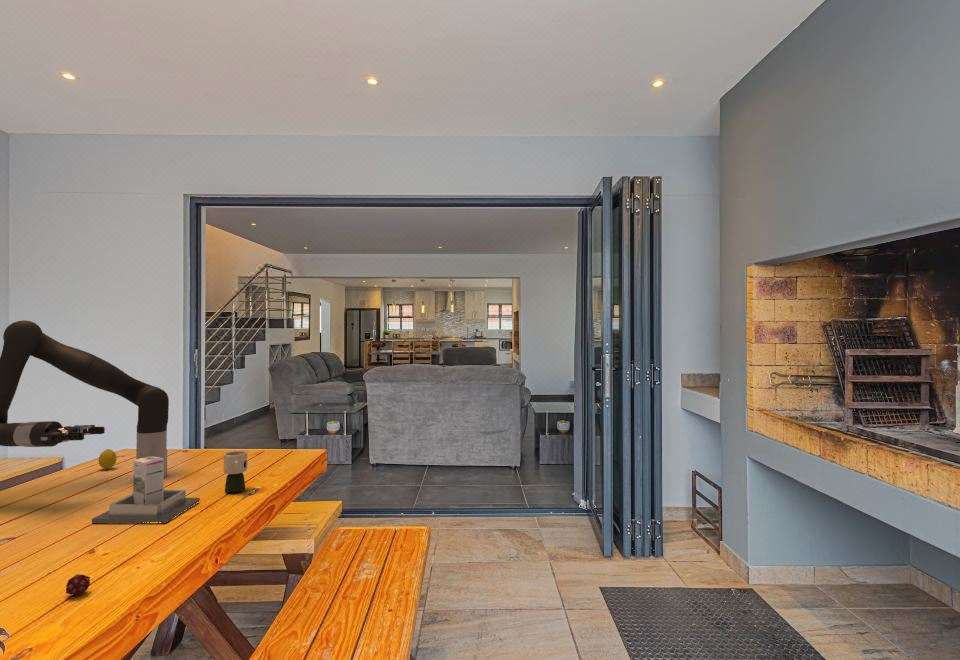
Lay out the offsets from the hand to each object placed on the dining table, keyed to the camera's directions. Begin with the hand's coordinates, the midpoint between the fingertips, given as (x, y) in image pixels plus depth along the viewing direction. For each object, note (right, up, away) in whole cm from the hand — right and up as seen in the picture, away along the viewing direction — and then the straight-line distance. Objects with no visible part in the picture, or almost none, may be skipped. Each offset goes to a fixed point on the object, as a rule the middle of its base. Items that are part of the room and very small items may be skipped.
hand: (93, 433), depth 153 cm
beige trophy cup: (+35, -23, +16) cm, 45 cm away
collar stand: (+20, -23, -4) cm, 30 cm away
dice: (+36, -23, -51) cm, 66 cm away
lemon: (-27, -23, +42) cm, 55 cm away
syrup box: (+19, -21, -4) cm, 29 cm away
